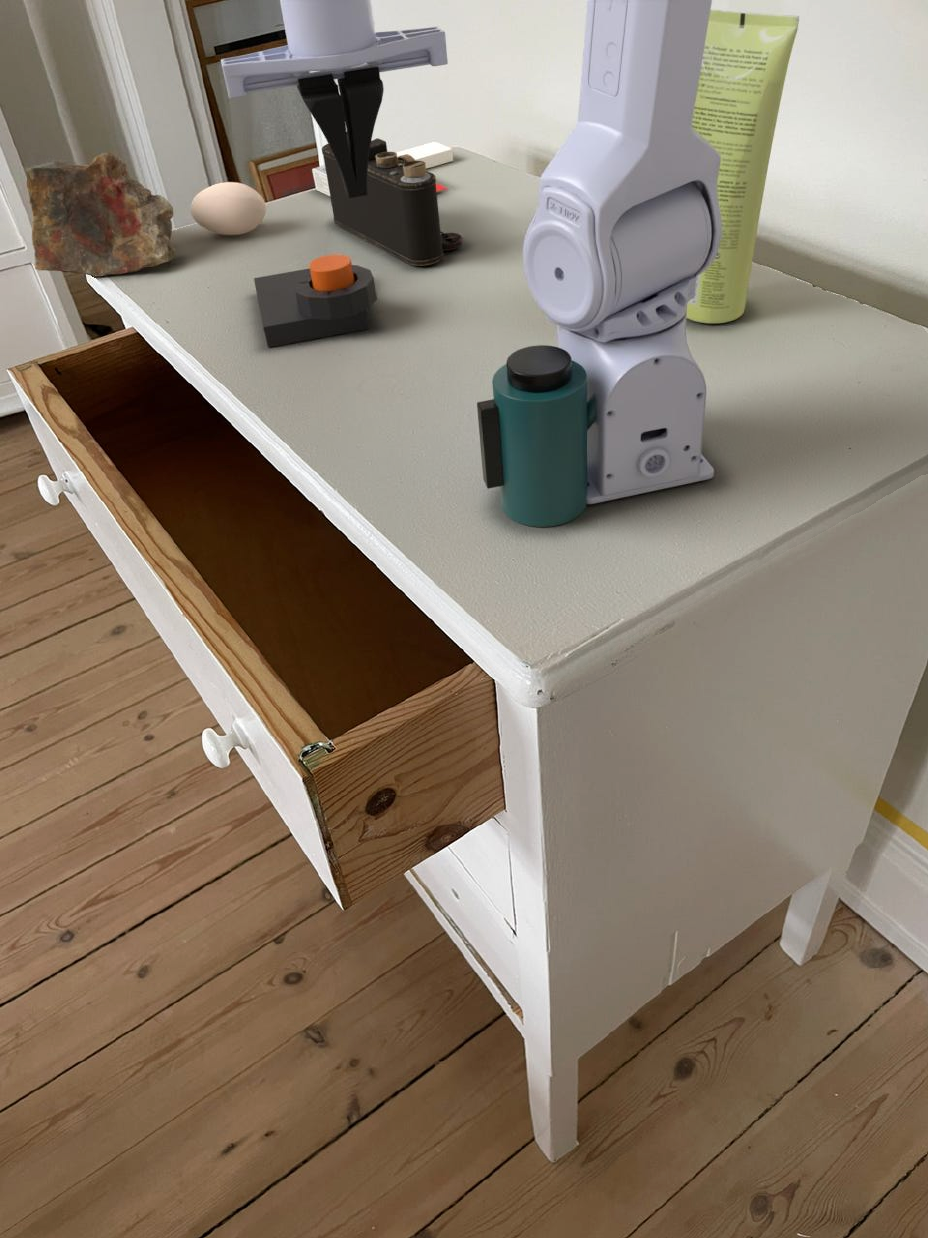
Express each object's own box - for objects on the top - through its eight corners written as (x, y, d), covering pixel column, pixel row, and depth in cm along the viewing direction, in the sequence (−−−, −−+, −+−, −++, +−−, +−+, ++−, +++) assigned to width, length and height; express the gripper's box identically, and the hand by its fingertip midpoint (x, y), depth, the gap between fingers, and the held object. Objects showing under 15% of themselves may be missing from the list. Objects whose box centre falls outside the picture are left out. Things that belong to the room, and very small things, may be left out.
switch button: (357, 288, 74) (353, 266, 73) (316, 296, 74) (311, 273, 72) (351, 273, 76) (347, 251, 75) (311, 280, 76) (306, 258, 75)
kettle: (626, 510, 55) (631, 365, 49) (499, 538, 54) (487, 394, 48) (597, 465, 59) (598, 325, 53) (477, 490, 58) (464, 350, 52)
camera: (477, 248, 86) (470, 152, 80) (413, 270, 83) (401, 172, 78) (383, 203, 96) (371, 116, 91) (324, 222, 94) (308, 133, 89)
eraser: (396, 151, 105) (413, 160, 103) (434, 140, 107) (452, 148, 104) (397, 163, 106) (414, 172, 103) (435, 152, 108) (453, 160, 105)
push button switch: (385, 332, 75) (378, 288, 73) (269, 353, 74) (258, 309, 72) (363, 278, 83) (356, 237, 81) (258, 297, 82) (248, 256, 80)
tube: (744, 293, 75) (777, -3, 62) (761, 322, 71) (800, 13, 58) (670, 300, 75) (687, 6, 62) (683, 329, 71) (705, 23, 58)
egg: (274, 193, 94) (202, 197, 96) (256, 170, 90) (181, 175, 91) (273, 241, 94) (201, 244, 96) (255, 220, 90) (180, 224, 91)
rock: (109, 179, 96) (38, 117, 86) (215, 193, 92) (153, 131, 82) (73, 298, 95) (-3, 250, 86) (178, 318, 91) (111, 270, 82)
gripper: (421, -60, 64) (443, 159, 73) (200, -29, 62) (250, 192, 71) (445, -47, 58) (465, 188, 67) (204, -12, 57) (257, 223, 66)
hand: (356, 192), depth 69 cm, fingers closed
